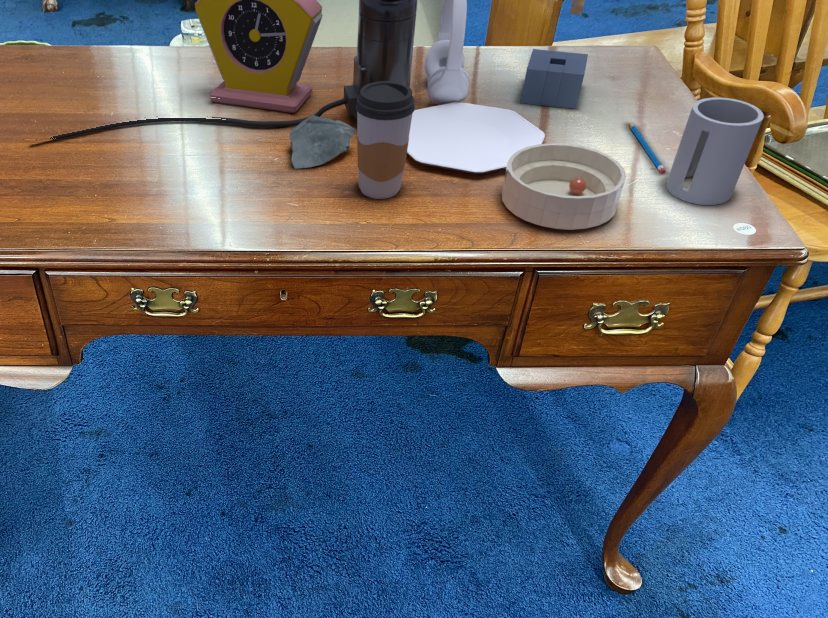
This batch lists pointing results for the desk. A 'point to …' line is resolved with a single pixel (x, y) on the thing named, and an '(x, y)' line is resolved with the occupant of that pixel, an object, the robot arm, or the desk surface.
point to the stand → (554, 78)
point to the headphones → (448, 56)
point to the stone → (319, 141)
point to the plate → (469, 137)
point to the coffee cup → (383, 136)
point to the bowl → (562, 186)
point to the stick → (577, 7)
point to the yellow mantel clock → (260, 49)
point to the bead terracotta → (577, 186)
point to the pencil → (648, 149)
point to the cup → (714, 150)
